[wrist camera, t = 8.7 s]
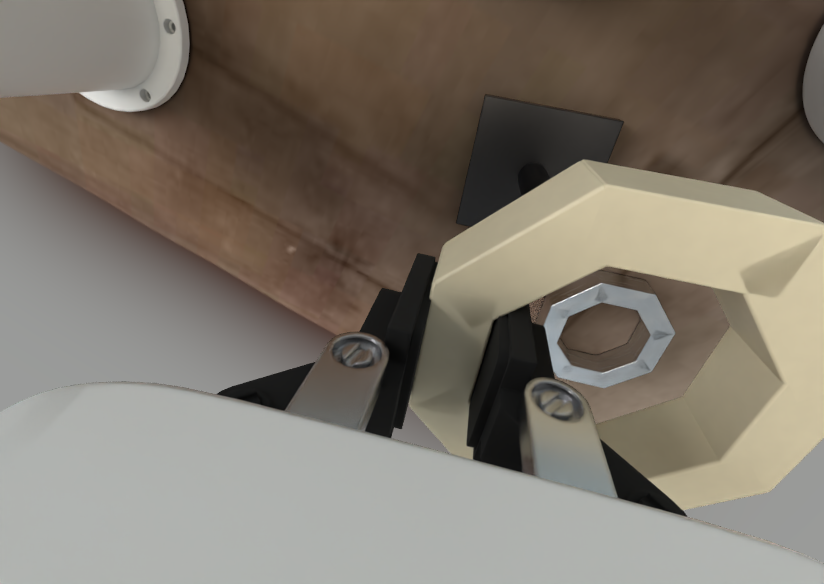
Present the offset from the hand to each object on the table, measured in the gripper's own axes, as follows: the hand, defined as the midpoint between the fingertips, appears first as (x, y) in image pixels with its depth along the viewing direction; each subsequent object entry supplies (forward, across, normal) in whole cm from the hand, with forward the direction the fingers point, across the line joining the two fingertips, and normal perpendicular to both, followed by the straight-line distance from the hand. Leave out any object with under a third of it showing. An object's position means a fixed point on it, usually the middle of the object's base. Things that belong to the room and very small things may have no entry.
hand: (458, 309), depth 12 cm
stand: (+20, -4, 0) cm, 21 cm away
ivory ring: (0, -4, 0) cm, 4 cm away
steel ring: (+21, -13, +11) cm, 26 cm away
